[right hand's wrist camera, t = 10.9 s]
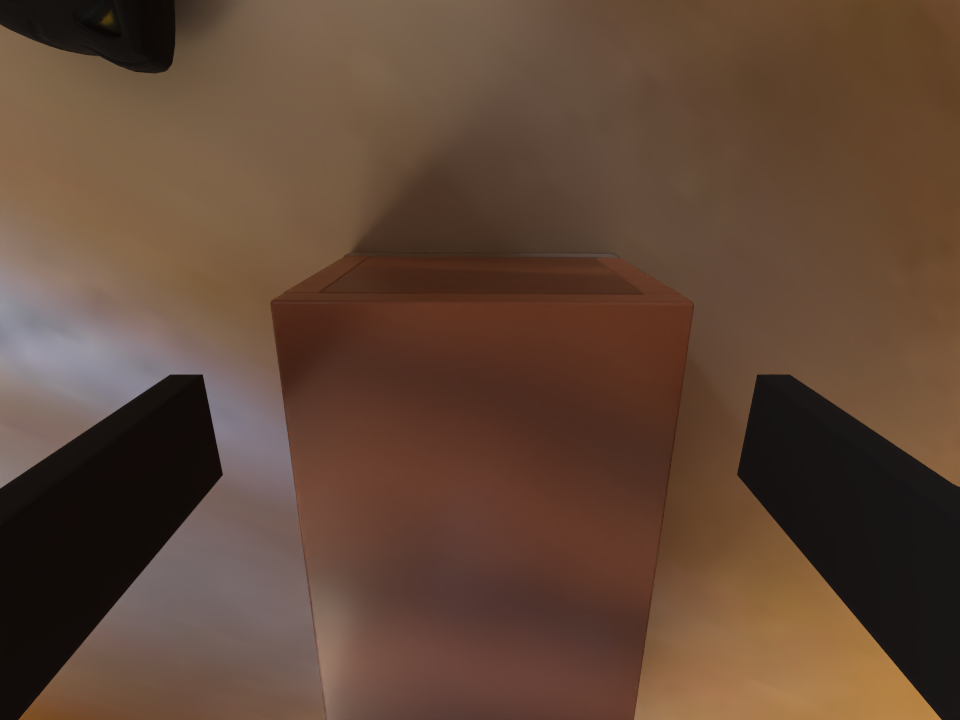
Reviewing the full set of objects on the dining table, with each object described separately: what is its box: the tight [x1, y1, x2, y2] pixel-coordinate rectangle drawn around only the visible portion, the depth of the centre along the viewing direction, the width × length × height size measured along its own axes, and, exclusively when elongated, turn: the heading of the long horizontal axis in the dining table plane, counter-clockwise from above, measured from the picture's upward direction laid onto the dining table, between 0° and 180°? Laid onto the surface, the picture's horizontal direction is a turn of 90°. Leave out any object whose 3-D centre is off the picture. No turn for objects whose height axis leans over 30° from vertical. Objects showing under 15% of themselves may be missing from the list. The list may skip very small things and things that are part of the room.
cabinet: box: [270, 252, 694, 720], centre depth 20 cm, size 20×11×9 cm, turn 0°
